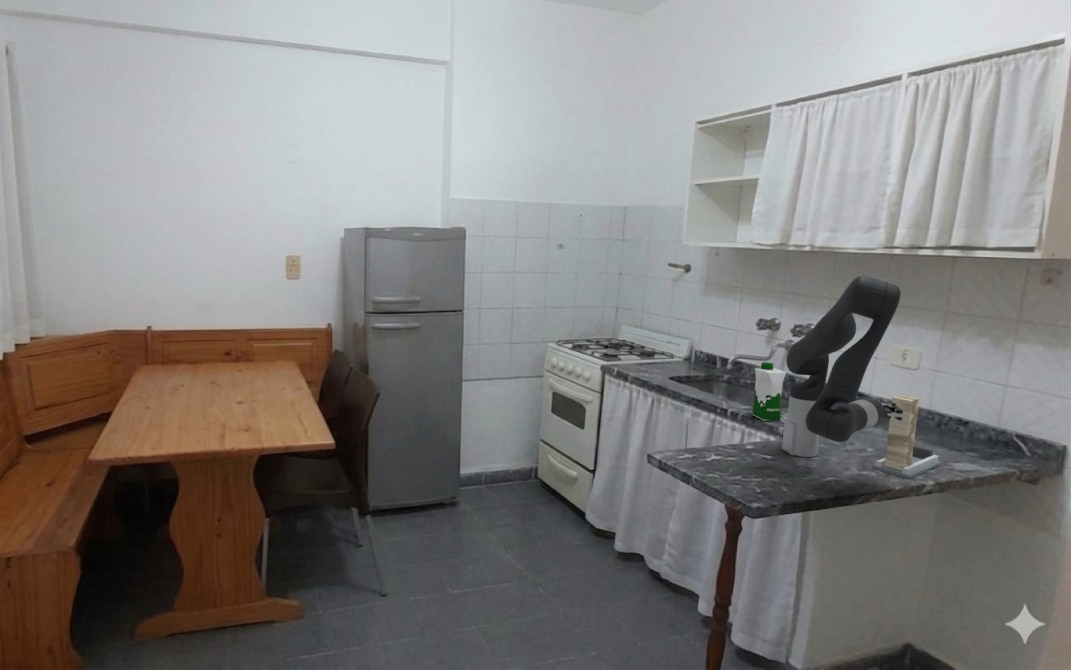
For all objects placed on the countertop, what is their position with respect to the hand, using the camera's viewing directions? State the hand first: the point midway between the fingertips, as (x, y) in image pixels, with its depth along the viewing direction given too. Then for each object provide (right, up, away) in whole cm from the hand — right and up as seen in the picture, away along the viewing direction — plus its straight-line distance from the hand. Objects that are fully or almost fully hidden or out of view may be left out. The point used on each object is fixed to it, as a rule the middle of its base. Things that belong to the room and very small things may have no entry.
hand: (892, 406), depth 177 cm
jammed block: (+6, -18, +8) cm, 20 cm away
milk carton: (-13, -11, +59) cm, 62 cm away
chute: (+11, -19, +12) cm, 25 cm away
